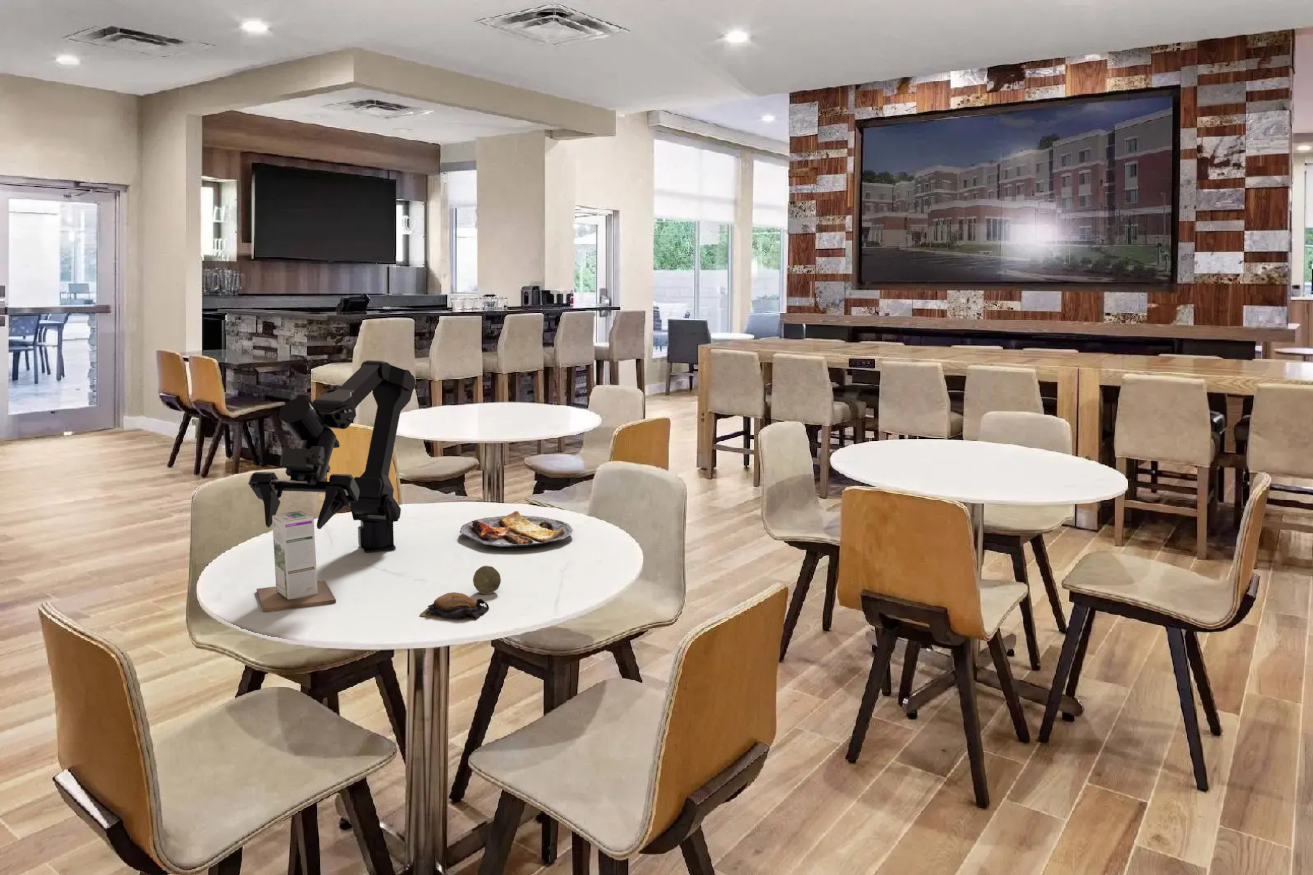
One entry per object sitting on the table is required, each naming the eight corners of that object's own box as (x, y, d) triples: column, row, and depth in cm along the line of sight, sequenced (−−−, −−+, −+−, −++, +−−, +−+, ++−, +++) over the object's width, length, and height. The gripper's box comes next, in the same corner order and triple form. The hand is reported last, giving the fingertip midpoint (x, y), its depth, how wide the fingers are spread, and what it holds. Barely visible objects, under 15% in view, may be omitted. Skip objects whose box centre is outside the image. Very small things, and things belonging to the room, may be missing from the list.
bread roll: (416, 621, 168) (416, 600, 167) (436, 605, 176) (435, 585, 176) (475, 625, 166) (475, 604, 166) (493, 609, 174) (492, 589, 174)
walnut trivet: (325, 583, 185) (324, 580, 185) (335, 602, 174) (335, 599, 174) (256, 591, 180) (256, 588, 179) (263, 612, 169) (263, 608, 169)
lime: (504, 591, 182) (504, 565, 181) (484, 598, 179) (483, 571, 178) (488, 586, 185) (488, 561, 184) (468, 592, 181) (468, 566, 181)
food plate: (442, 532, 223) (442, 517, 222) (529, 519, 238) (529, 504, 237) (500, 560, 204) (501, 544, 203) (591, 544, 219) (591, 528, 218)
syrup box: (319, 594, 177) (316, 515, 175) (286, 601, 173) (282, 520, 171) (306, 586, 181) (303, 509, 179) (274, 592, 177) (270, 514, 175)
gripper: (250, 428, 178) (224, 501, 169) (351, 430, 177) (331, 504, 168) (271, 462, 187) (247, 534, 178) (368, 465, 186) (349, 537, 177)
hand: (292, 527), depth 175 cm, fingers open, 9 cm apart
